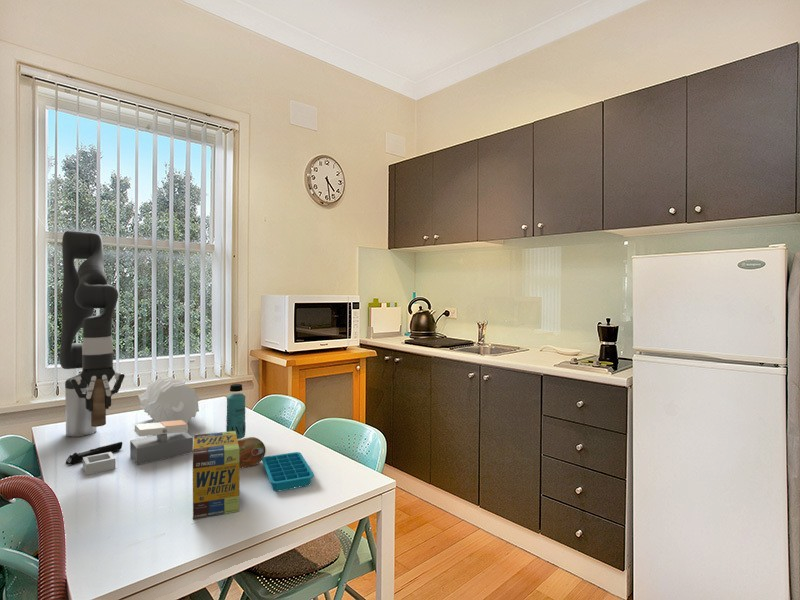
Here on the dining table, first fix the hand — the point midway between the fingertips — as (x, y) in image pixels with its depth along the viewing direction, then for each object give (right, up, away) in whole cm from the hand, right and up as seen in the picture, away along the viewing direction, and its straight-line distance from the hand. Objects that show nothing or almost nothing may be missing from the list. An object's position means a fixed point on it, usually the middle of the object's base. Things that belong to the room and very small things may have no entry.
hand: (98, 409), depth 133 cm
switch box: (+13, -17, +12) cm, 24 cm away
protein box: (+43, -19, -20) cm, 51 cm away
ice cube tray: (+57, -19, -4) cm, 60 cm away
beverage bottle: (+32, -17, +25) cm, 44 cm away
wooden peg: (0, -5, 0) cm, 5 cm away
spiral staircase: (-2, -17, +45) cm, 48 cm away
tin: (+41, -18, +2) cm, 45 cm away
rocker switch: (+13, -9, +11) cm, 19 cm away
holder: (0, -17, 0) cm, 18 cm away
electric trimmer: (-7, -18, +9) cm, 21 cm away
